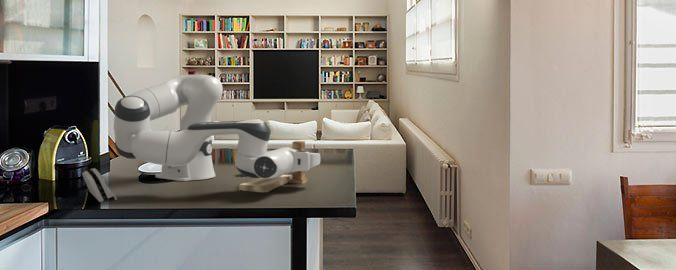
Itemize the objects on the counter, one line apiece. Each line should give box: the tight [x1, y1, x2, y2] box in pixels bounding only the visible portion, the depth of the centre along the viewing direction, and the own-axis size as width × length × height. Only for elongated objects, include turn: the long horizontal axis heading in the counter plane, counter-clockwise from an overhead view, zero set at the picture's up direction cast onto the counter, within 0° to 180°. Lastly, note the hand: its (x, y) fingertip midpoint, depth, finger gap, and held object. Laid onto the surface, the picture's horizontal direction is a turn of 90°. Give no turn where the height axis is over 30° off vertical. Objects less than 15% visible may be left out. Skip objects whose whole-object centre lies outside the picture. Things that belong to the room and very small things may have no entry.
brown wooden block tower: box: [286, 140, 308, 185], centre depth 187 cm, size 7×5×15 cm
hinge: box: [82, 167, 118, 203], centre depth 161 cm, size 17×5×10 cm, turn 35°
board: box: [238, 174, 292, 193], centre depth 181 cm, size 10×22×2 cm, turn 163°
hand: (299, 155), depth 187 cm, fingers open, 8 cm apart
